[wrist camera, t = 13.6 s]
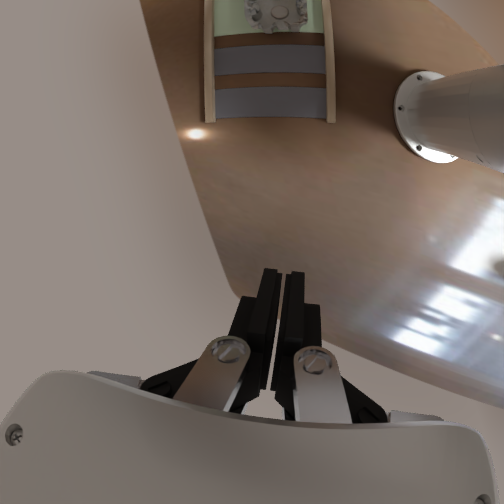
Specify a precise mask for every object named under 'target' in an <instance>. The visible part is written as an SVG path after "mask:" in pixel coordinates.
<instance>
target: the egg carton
mask: <svg viewBox="0 0 504 504" xmlns="http://www.w3.org/2000/svg"><path fill="white" fill-rule="evenodd" d="M244 12H245V18H246V20H247V21H248V23H249V24H250V25H251V27H252V28H253V29H262V30H263V31H264V33H266V34H272V33H273V31H274V29H275V28H276V27H277V29H278V30H289V28H290V30H291V32H299V31H300V28H301V27H302V26H303V25H306V24H307V23H308V22H307V21H308V15H307V0H244Z"/></svg>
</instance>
